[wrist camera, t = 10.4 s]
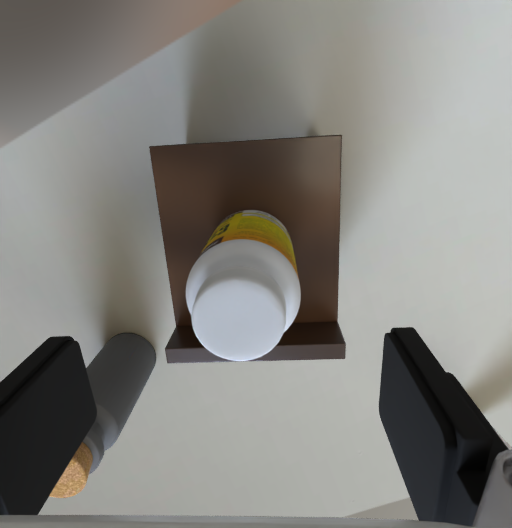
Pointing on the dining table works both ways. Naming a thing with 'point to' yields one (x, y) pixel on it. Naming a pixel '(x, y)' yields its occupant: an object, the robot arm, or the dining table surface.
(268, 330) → the supplement bottle
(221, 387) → the dining table surface
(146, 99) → the dining table surface
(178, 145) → the shelf
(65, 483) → the bottle
